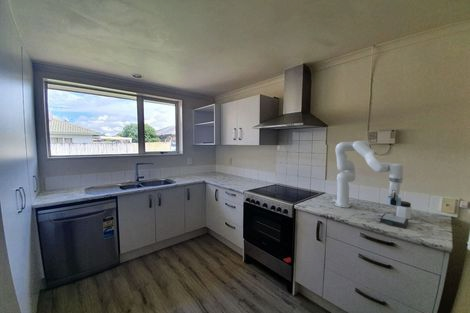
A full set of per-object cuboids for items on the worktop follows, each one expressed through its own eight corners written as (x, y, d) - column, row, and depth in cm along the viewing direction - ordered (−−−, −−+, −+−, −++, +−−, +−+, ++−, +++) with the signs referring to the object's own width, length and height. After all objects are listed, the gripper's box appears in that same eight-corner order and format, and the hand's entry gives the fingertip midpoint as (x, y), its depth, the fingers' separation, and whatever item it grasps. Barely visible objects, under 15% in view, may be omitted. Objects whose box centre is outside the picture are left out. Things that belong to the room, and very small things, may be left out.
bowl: (386, 204, 138) (387, 197, 138) (388, 202, 143) (389, 195, 143) (399, 207, 133) (400, 199, 132) (401, 204, 138) (401, 197, 137)
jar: (402, 214, 153) (403, 200, 152) (413, 218, 145) (414, 203, 144) (392, 215, 152) (393, 200, 151) (402, 219, 144) (403, 204, 143)
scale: (379, 222, 138) (380, 218, 138) (384, 217, 149) (384, 212, 148) (405, 229, 128) (405, 224, 127) (407, 222, 138) (408, 218, 138)
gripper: (391, 177, 145) (389, 200, 147) (386, 181, 134) (385, 205, 135) (404, 179, 140) (402, 202, 141) (400, 182, 128) (398, 207, 129)
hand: (394, 203), depth 138 cm, fingers closed on bowl, 7 cm apart
